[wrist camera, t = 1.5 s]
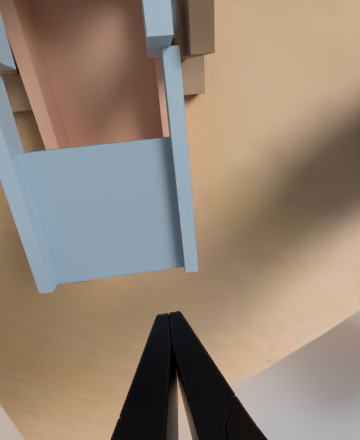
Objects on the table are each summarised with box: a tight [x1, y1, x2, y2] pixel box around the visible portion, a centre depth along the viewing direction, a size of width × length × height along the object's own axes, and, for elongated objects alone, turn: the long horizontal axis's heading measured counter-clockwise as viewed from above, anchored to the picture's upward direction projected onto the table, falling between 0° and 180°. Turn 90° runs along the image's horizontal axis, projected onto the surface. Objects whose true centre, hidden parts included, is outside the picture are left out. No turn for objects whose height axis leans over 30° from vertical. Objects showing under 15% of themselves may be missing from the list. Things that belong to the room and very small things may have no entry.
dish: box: [0, 0, 169, 150], centre depth 14 cm, size 10×7×3 cm
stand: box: [0, 0, 215, 112], centre depth 11 cm, size 6×11×8 cm, turn 94°
